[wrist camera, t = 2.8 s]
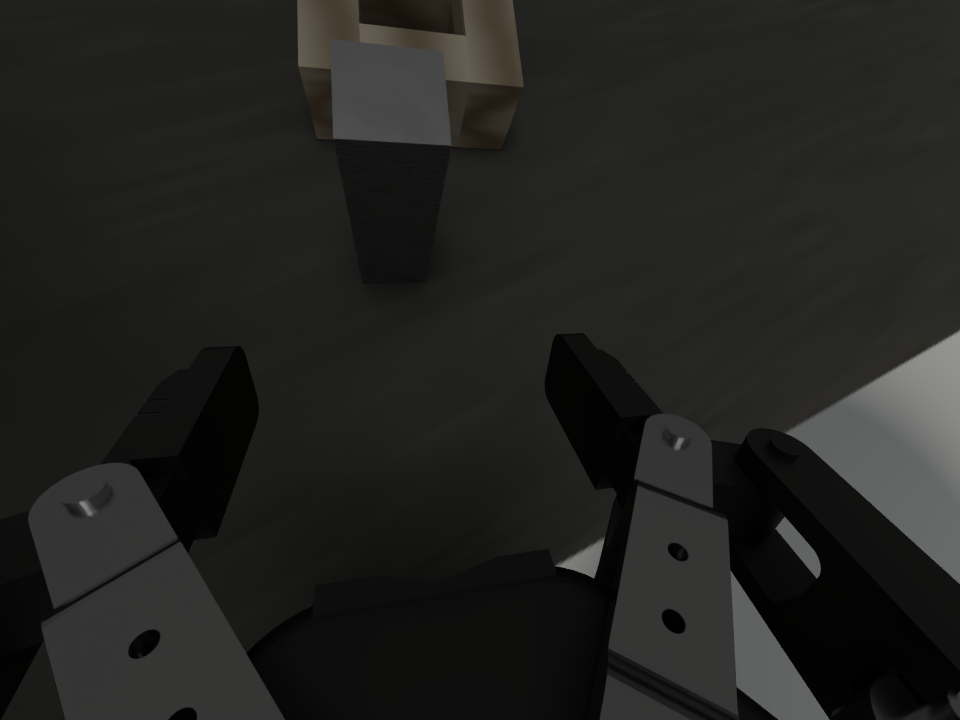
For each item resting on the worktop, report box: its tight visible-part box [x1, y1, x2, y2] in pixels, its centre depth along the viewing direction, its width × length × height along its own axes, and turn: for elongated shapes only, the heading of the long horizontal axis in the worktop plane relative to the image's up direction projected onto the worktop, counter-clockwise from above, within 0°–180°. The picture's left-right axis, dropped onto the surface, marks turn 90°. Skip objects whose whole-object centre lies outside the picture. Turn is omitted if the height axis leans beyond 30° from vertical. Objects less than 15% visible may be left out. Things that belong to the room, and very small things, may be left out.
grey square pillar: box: [330, 39, 451, 283], centre depth 23 cm, size 4×4×14 cm
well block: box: [298, 0, 524, 150], centre depth 30 cm, size 14×14×6 cm
